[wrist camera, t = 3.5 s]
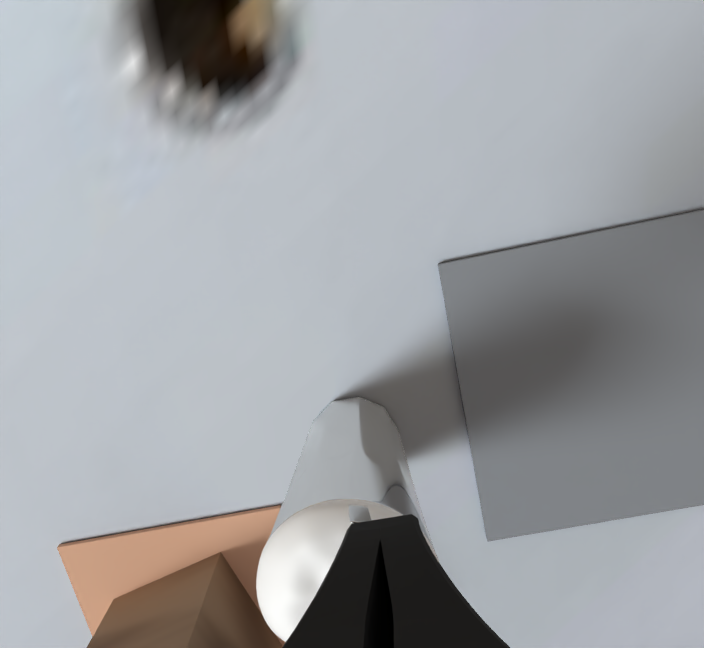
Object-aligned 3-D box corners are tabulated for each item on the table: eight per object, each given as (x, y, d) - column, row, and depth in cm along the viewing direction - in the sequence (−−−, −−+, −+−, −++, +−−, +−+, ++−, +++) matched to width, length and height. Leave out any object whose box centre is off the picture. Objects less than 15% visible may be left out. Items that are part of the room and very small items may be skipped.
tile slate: (751, 493, 23) (755, 496, 23) (486, 538, 24) (487, 541, 24) (739, 201, 20) (743, 202, 20) (437, 263, 21) (438, 264, 21)
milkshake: (426, 364, 22) (474, 534, 13) (407, 496, 24) (436, 738, 14) (299, 351, 22) (249, 510, 12) (288, 484, 24) (235, 717, 14)
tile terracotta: (331, 688, 26) (331, 692, 26) (129, 719, 27) (127, 724, 27) (280, 504, 24) (279, 507, 24) (59, 544, 25) (57, 547, 24)
